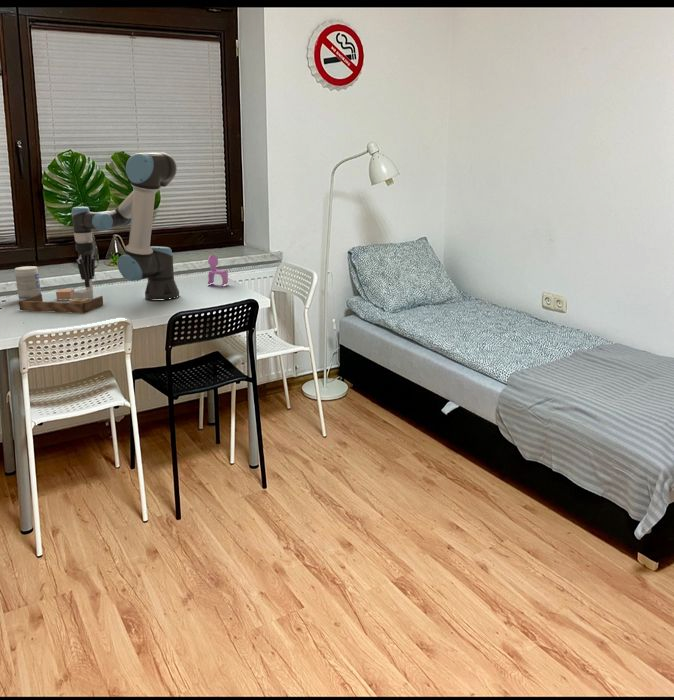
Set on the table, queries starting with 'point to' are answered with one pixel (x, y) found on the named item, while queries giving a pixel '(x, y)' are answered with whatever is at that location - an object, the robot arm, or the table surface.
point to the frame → (59, 305)
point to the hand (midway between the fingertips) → (89, 293)
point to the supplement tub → (27, 282)
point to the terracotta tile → (65, 294)
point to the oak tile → (80, 300)
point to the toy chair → (213, 263)
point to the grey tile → (83, 294)
